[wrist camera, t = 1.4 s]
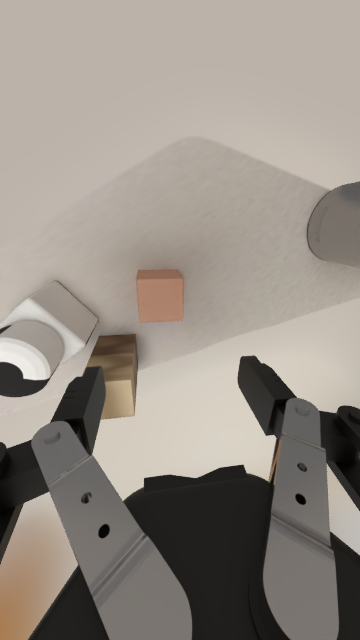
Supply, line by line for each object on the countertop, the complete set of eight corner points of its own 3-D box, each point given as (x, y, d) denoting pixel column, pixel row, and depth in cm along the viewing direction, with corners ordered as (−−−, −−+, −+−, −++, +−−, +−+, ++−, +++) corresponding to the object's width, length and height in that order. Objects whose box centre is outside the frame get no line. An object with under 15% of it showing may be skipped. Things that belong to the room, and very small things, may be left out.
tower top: (133, 353, 27) (130, 379, 22) (136, 385, 29) (134, 416, 24) (90, 355, 26) (78, 384, 21) (96, 388, 28) (87, 420, 23)
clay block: (177, 269, 28) (183, 278, 24) (177, 305, 30) (182, 320, 26) (138, 270, 28) (136, 279, 23) (140, 307, 30) (139, 322, 25)
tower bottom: (135, 334, 31) (133, 353, 27) (137, 363, 33) (136, 385, 29) (99, 336, 30) (90, 355, 26) (103, 365, 32) (96, 388, 28)
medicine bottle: (63, 350, 31) (16, 420, 20) (16, 314, 28) (-67, 373, 17) (100, 319, 29) (72, 375, 19) (55, 279, 27) (-7, 317, 16)
